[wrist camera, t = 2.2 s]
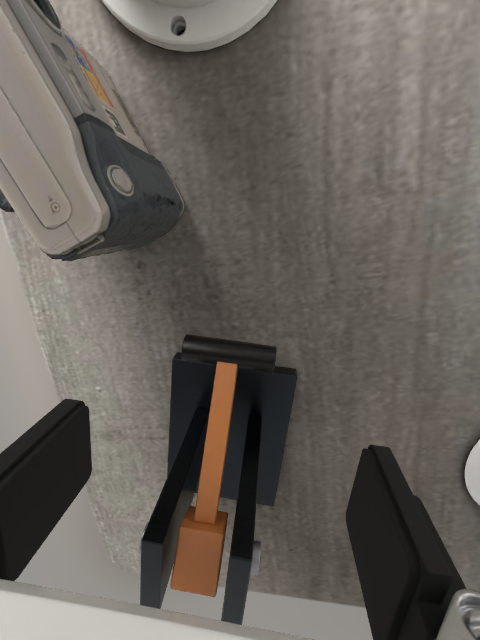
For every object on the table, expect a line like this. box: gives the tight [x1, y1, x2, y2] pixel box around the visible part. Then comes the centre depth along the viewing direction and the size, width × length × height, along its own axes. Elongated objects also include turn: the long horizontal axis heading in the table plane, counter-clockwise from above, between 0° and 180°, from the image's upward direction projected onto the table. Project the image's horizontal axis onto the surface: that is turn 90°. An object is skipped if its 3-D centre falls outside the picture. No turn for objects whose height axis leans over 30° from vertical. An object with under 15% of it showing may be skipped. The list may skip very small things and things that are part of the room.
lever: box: [171, 334, 277, 597], centre depth 17 cm, size 12×5×2 cm, turn 174°
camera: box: [0, 0, 184, 261], centre depth 16 cm, size 11×6×10 cm, turn 26°
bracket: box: [140, 352, 297, 625], centre depth 21 cm, size 12×9×12 cm
